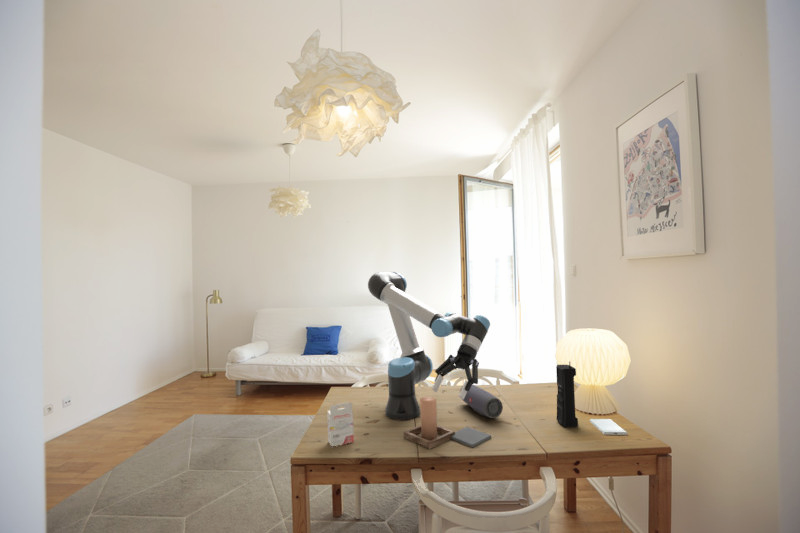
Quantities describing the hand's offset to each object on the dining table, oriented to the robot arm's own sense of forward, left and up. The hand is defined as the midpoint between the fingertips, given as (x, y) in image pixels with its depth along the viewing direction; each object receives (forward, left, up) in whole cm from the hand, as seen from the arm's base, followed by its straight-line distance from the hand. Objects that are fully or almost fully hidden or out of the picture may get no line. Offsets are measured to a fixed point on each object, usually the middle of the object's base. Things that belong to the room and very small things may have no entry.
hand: (447, 394), depth 144 cm
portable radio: (+29, +38, -14) cm, 50 cm away
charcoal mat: (+10, +1, -14) cm, 17 cm away
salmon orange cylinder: (-1, -9, -14) cm, 17 cm away
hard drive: (+42, +45, -15) cm, 63 cm away
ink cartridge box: (-21, -35, -14) cm, 44 cm away
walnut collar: (-1, -9, -14) cm, 17 cm away
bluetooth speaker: (-3, +25, -14) cm, 29 cm away
